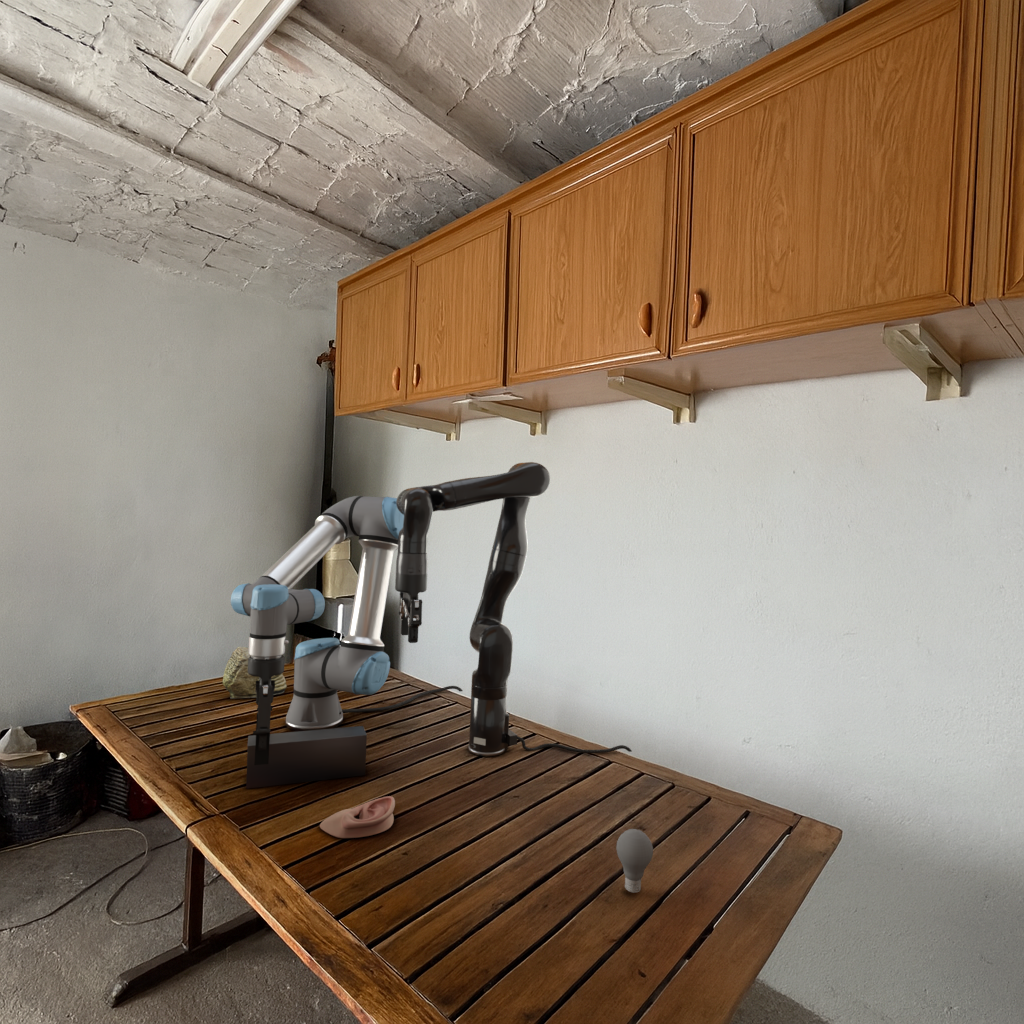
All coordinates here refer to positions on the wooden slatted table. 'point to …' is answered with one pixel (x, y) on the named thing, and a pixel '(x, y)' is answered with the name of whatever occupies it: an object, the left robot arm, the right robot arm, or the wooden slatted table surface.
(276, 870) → the wooden slatted table surface
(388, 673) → the left robot arm
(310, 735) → the box
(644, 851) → the light bulb
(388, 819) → the anatomical model
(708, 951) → the wooden slatted table surface
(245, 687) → the fossil
